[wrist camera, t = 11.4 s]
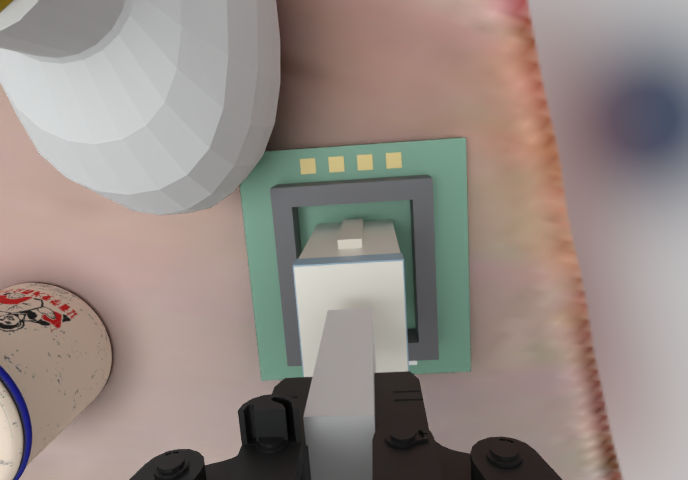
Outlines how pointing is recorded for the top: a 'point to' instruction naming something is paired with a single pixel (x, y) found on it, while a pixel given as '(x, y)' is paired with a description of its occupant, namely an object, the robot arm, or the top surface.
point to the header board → (370, 204)
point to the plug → (353, 287)
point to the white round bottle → (145, 93)
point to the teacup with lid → (45, 368)
